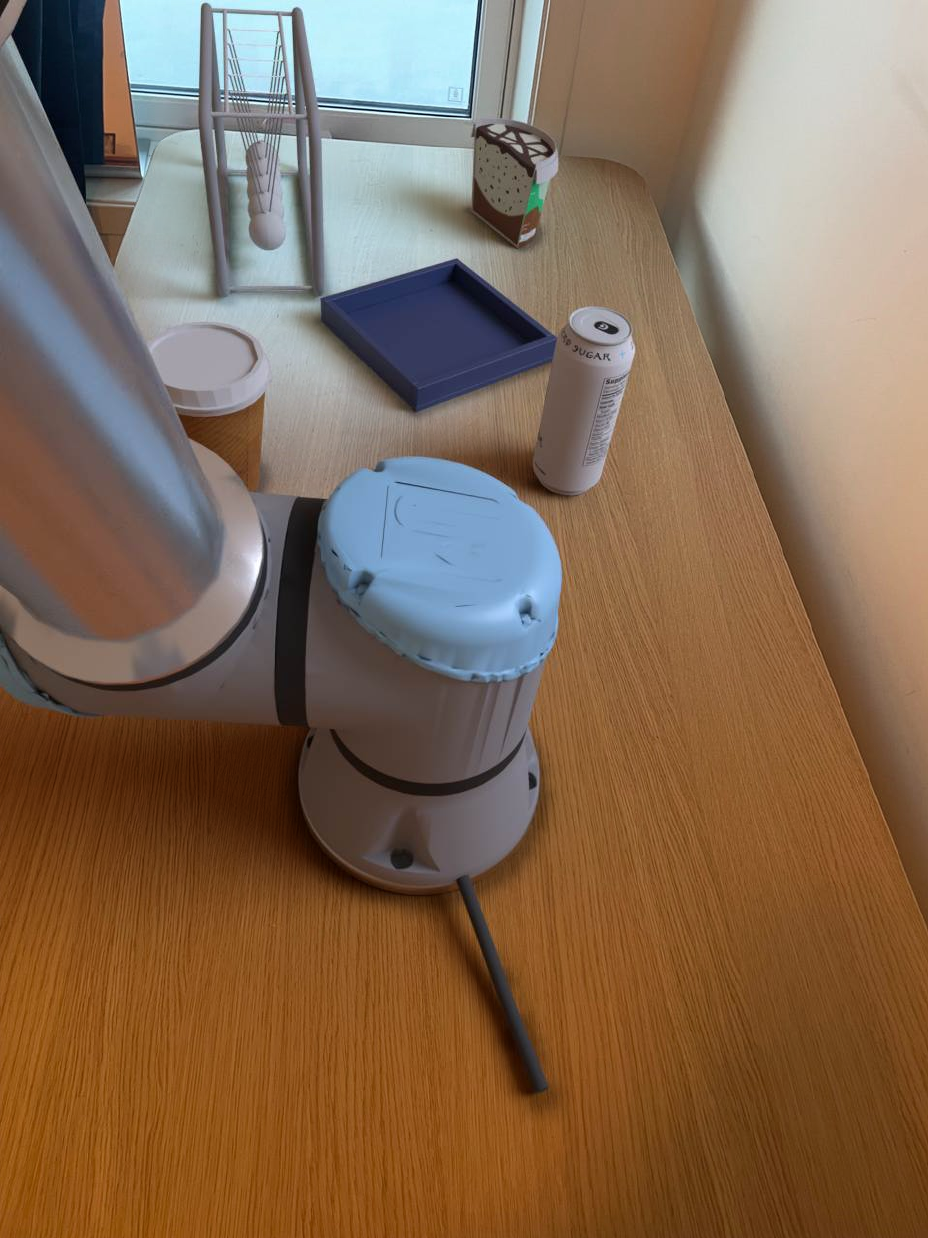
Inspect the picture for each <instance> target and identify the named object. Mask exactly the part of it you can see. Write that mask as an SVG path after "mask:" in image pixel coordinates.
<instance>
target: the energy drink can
mask: <svg viewBox="0 0 928 1238" xmlns="http://www.w3.org/2000/svg"><path fill="white" fill-rule="evenodd" d="M632 334H633V324H632V322H631V321H630V320H629V319H628V318H627V317H626V316H625V315H623V314H622V313H620V312H618V311H616V310H613V309H611V308H608V307H603V306H584V307H581V308H578V309H576V310H574V311H573V312H572V313H570V315H569V318H568V322H567V323H566V324H565V325H564V326H563V327H562V328H561V329H560V331H558V334H557V336H556V337H557V341H556V346H555V351H554V356H553V361H551V367H550V372H549V377H548V380H547V381H548V382H547V387H546V392H545V396H544V397H545V398H544V402H543V407H542V412H541V417H540V422H539V426H538V432H537V438H536V442H535V448H534V453H533V458H532V470H533V472H534V474H535V475H536V477H537V479H538V481H539V483H540V484H541V485H542V486H543V487H545V488H546V489H547V490H549V491H550V492H552V493H555V494H558V495H560V496H561V495H562V496H578V495H582V494H584V493H585V492H587V491H588V490H589V489H591V488H593V487H595V485H597V484H598V483H599V481H600V479H601V476H602V473H603V471H604V466H605V462H606V460H607V456H608V452H609V448H610V445H611V441H612V438H613V433H614V430H615V427H616V423H617V419H618V416H619V413H620V409H621V405H622V401H623V398H624V394H625V390H626V387H627V383H628V378H629V376H630V372H631V369H632V366H633V365H632V364H633V361H634V358H635V354H636V346H635V343H634V339H633V337H632Z"/></svg>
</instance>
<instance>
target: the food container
mask: <svg viewBox="0 0 928 1238" xmlns="http://www.w3.org/2000/svg"><path fill="white" fill-rule="evenodd" d="M471 130H472V131H471V134H470V137H471V138H473V158H472V179H471V180H472V181H471V182H472V183H471V203H470V204H471V205H470V206H471V208H470V212H471V213H472V214H474V215H475V216H476V217H478V218H479V219H480V220H481V221H482V222H483V223H485V224H486V225H488V226H489V227H490V229H493V230H494V231H495V232H496V233H497V234H499V235H500V236H501V237H502V238H504V239H505V240H506V241H507V242H509V243H510V244H511V245H512V246H513V247H514V248H516V249H521V248H524V247H527V246H528V245H529V244H531V243H532V242H533V241H534V239H535V237H536V235H537V232H538V227H539V223H540V219H541V215H542V210H543V208H544V204H545V199H546V195H547V191H548V187H549V183H550V180H551V179H552V178H554V177H555V176H556V174H557V173H558V171H559V152H558V148H557V144H556V141H555V140H554V137H552V136H551V135H550V134H549V133H548V132H546V131H544V130H543V129H541V128H539V127H537V126H534V125H532V124H530V123H526V122H523V121H520V120H514V119H509V118H500V117H484V118H483V117H482V118H476V119H474V124H473V125H472V129H471Z"/></svg>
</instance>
